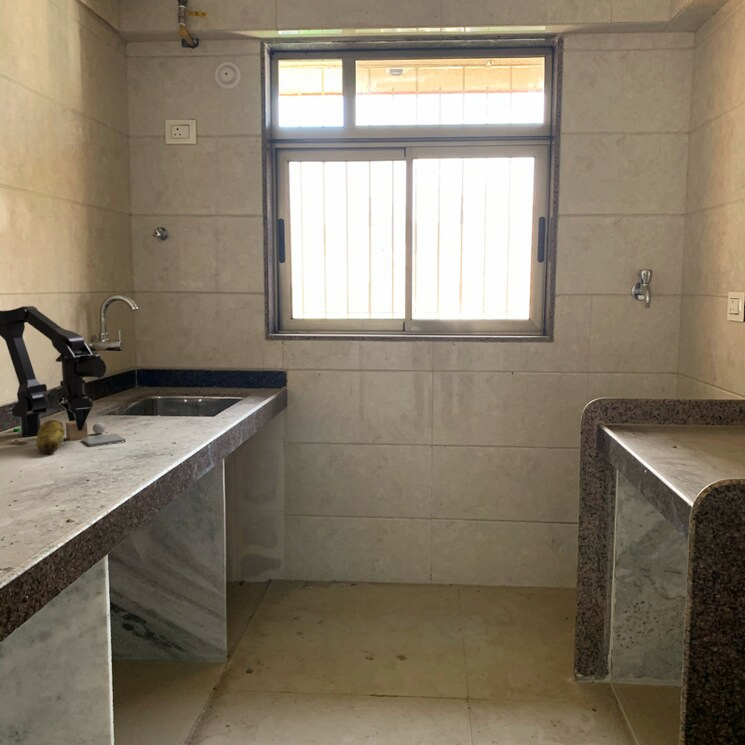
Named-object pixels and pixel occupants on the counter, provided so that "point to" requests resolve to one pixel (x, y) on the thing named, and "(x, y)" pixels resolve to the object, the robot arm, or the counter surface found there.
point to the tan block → (75, 431)
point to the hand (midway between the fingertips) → (76, 427)
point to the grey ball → (98, 428)
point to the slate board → (102, 439)
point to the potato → (50, 436)
